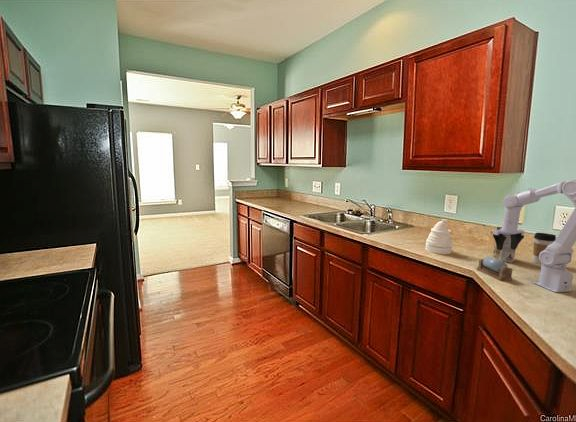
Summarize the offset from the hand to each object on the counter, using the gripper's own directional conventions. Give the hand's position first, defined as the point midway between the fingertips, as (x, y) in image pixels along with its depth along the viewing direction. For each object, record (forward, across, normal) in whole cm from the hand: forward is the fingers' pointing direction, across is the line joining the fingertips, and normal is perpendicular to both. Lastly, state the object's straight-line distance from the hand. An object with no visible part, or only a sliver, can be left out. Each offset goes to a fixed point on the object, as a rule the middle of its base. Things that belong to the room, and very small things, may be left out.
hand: (506, 249), depth 141 cm
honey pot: (+10, +13, -29) cm, 33 cm away
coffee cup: (+10, -27, -5) cm, 29 cm away
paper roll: (+8, +11, +6) cm, 15 cm away
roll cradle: (+9, +11, +6) cm, 16 cm away
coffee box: (+10, -12, -12) cm, 19 cm away
